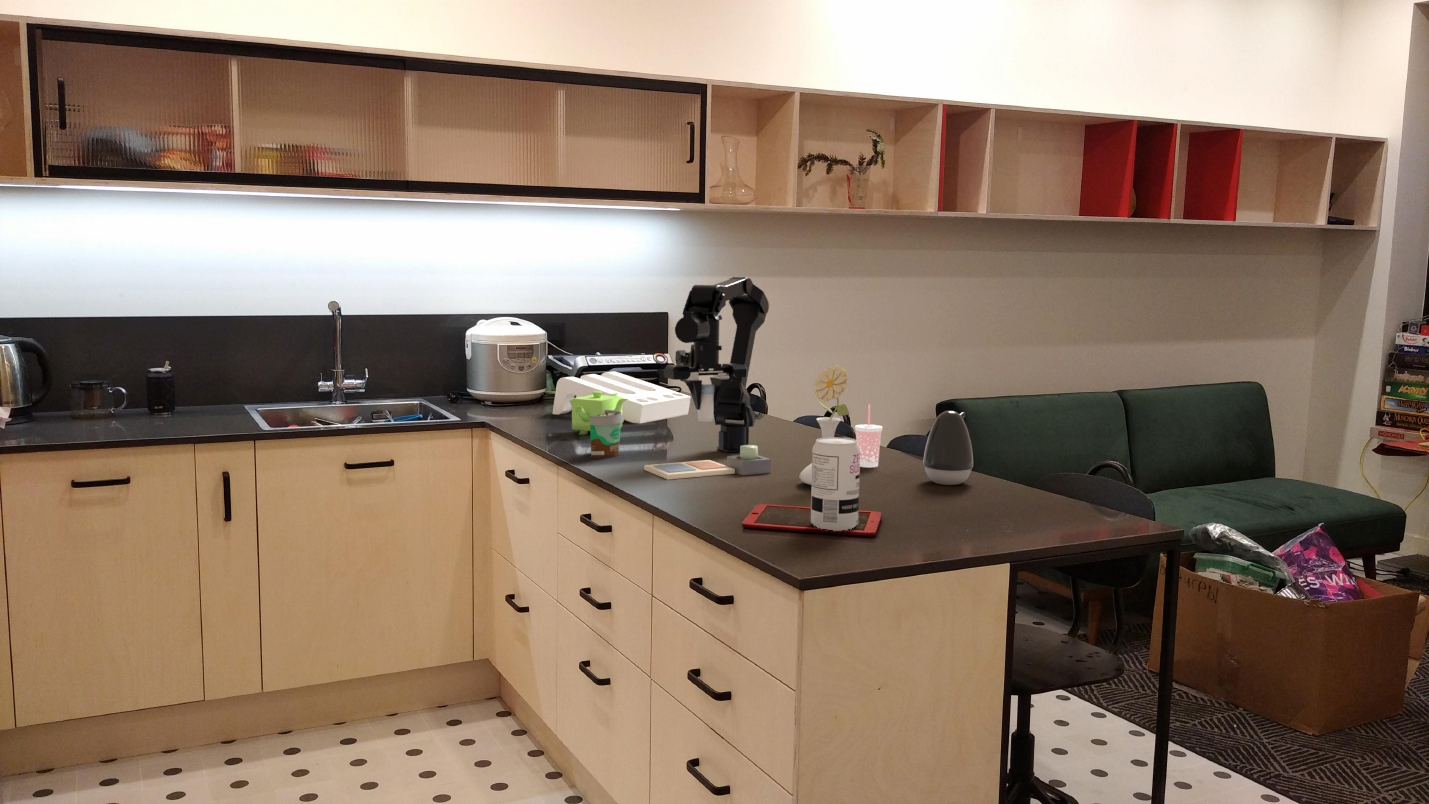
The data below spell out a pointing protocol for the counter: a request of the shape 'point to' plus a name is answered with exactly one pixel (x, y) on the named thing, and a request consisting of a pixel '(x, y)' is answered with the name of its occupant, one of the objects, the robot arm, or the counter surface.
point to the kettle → (592, 409)
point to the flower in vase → (826, 389)
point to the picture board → (689, 469)
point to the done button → (748, 452)
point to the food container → (605, 434)
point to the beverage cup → (868, 442)
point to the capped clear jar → (706, 403)
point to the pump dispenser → (948, 450)
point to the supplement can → (835, 483)
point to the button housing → (749, 465)
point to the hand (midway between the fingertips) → (705, 409)
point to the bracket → (623, 396)
